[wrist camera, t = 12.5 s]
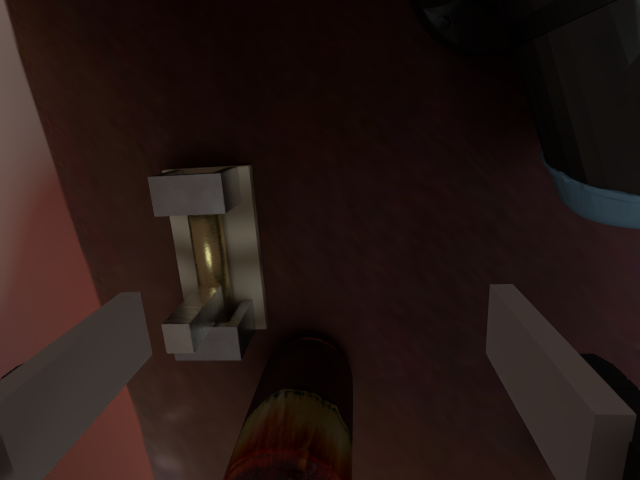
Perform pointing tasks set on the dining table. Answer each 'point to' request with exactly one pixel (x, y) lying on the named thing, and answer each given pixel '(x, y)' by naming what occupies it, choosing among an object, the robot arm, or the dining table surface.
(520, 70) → the robot arm
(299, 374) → the vase
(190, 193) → the sleeve
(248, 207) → the plank
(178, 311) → the slide bolt
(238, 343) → the socket
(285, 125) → the dining table surface
